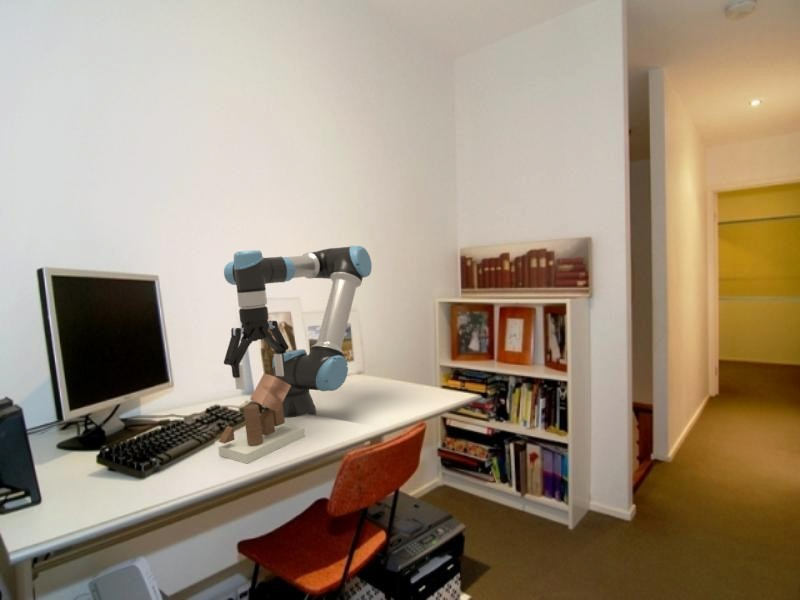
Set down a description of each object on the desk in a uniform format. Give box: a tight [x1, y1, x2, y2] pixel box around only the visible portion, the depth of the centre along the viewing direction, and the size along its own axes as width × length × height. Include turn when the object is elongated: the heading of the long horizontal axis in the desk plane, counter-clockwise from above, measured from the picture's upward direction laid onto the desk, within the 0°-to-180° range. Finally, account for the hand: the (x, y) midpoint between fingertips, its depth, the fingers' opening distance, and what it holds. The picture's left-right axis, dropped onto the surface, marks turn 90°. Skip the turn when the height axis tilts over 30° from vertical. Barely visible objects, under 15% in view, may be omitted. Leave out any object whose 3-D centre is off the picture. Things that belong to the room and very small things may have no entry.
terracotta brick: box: [249, 373, 291, 412], centre depth 124 cm, size 6×6×8 cm
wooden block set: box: [218, 403, 286, 445], centre depth 122 cm, size 18×9×10 cm, turn 141°
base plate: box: [217, 423, 306, 464], centre depth 124 cm, size 20×12×2 cm, turn 146°
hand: (261, 382), depth 123 cm, fingers open, 13 cm apart
